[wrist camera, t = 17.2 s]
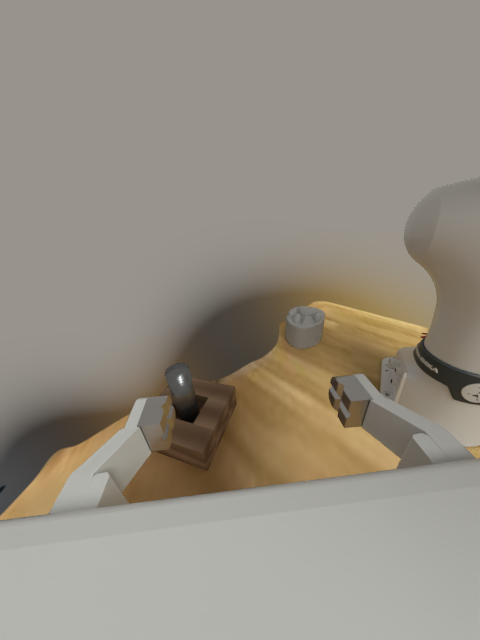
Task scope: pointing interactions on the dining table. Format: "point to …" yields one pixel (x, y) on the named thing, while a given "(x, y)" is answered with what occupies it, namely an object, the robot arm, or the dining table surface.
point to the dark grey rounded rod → (183, 392)
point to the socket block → (202, 424)
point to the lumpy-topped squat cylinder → (304, 327)
